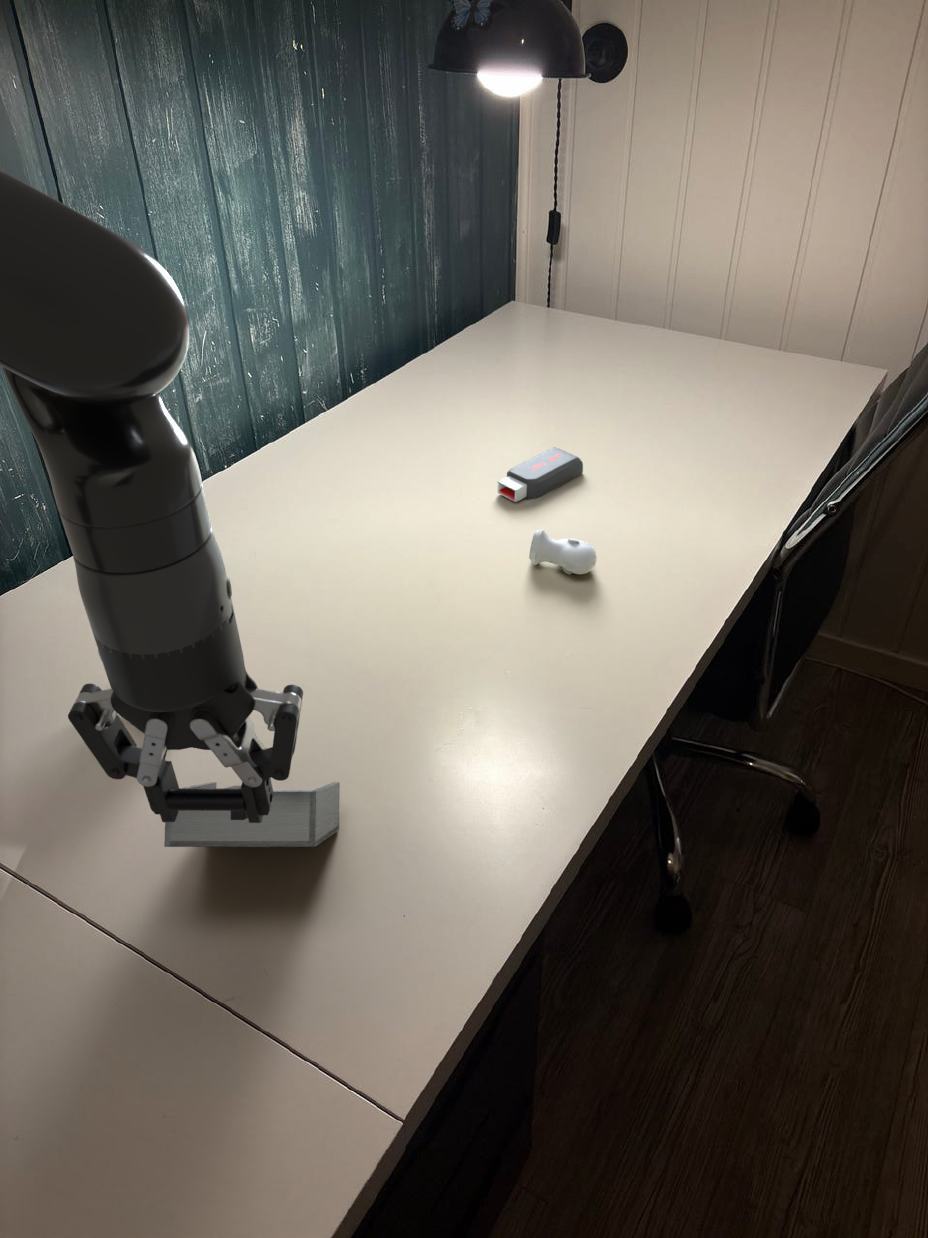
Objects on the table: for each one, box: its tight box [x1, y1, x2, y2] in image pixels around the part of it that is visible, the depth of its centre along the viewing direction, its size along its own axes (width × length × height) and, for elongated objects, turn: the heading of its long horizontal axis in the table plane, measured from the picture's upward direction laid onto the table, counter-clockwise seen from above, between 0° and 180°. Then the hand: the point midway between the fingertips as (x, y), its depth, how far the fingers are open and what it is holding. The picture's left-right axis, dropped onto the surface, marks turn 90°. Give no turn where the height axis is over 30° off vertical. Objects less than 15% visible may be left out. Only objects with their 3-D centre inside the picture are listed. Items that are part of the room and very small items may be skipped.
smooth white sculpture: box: [528, 528, 597, 575], centre depth 106 cm, size 4×8×5 cm
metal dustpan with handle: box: [163, 781, 341, 848], centre depth 68 cm, size 11×20×5 cm
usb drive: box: [497, 446, 584, 503], centre depth 121 cm, size 5×12×3 cm, turn 134°
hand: (215, 811), depth 61 cm, fingers closed on metal dustpan with handle, 5 cm apart
